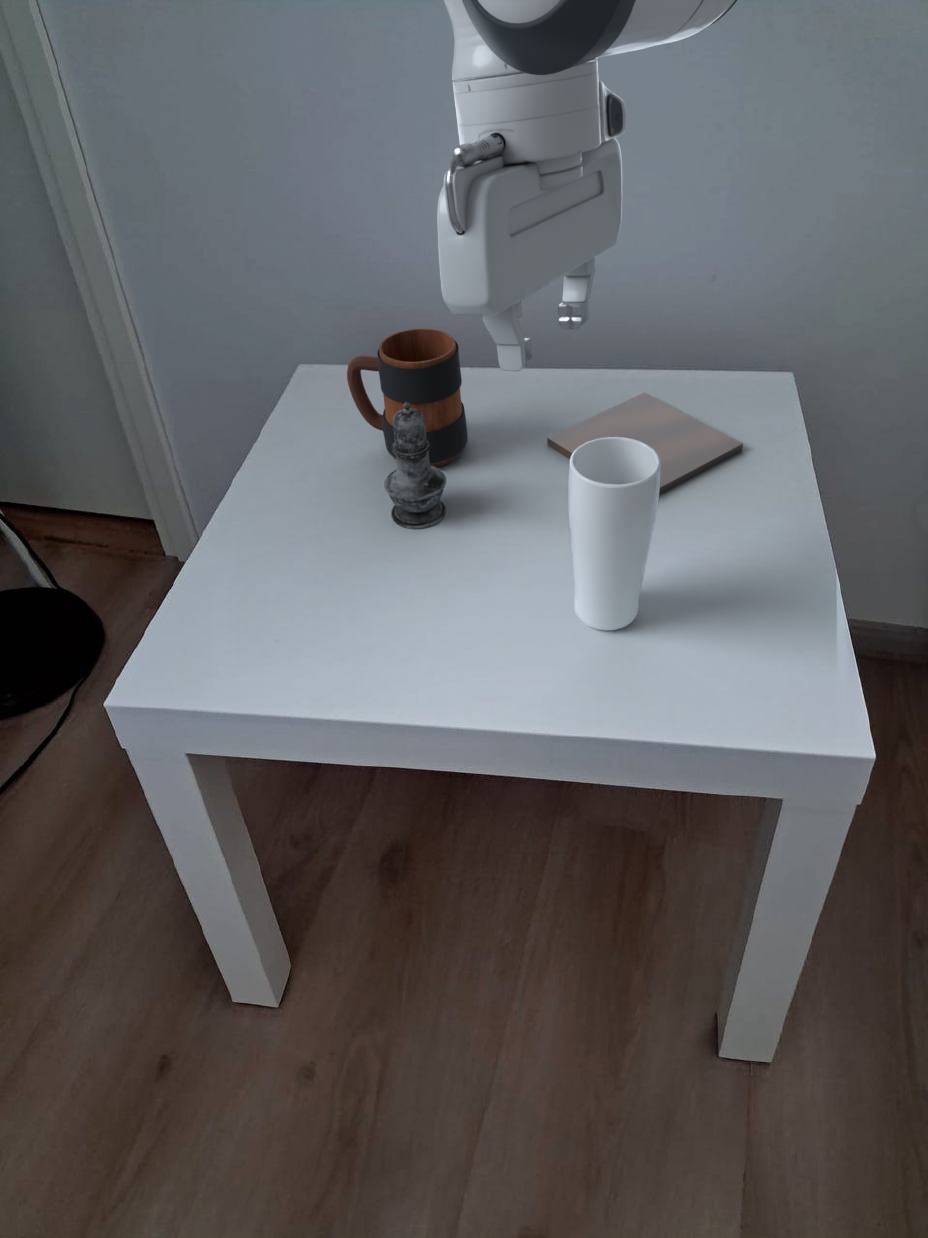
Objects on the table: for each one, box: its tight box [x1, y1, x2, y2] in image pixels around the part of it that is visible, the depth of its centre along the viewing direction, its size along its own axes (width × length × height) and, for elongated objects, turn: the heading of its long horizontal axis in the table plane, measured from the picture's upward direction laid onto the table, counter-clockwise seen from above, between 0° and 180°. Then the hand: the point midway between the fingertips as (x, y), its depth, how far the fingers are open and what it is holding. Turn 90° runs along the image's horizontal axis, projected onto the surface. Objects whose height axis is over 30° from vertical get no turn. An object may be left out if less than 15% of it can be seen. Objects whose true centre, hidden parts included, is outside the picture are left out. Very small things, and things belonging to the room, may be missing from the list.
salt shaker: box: [383, 402, 447, 530], centre depth 86 cm, size 6×6×12 cm
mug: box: [346, 328, 469, 468], centre depth 95 cm, size 9×12×12 cm
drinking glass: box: [567, 437, 661, 631], centre depth 73 cm, size 7×7×15 cm
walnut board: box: [546, 392, 744, 496], centre depth 96 cm, size 14×14×1 cm
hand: (547, 346), depth 65 cm, fingers open, 8 cm apart
